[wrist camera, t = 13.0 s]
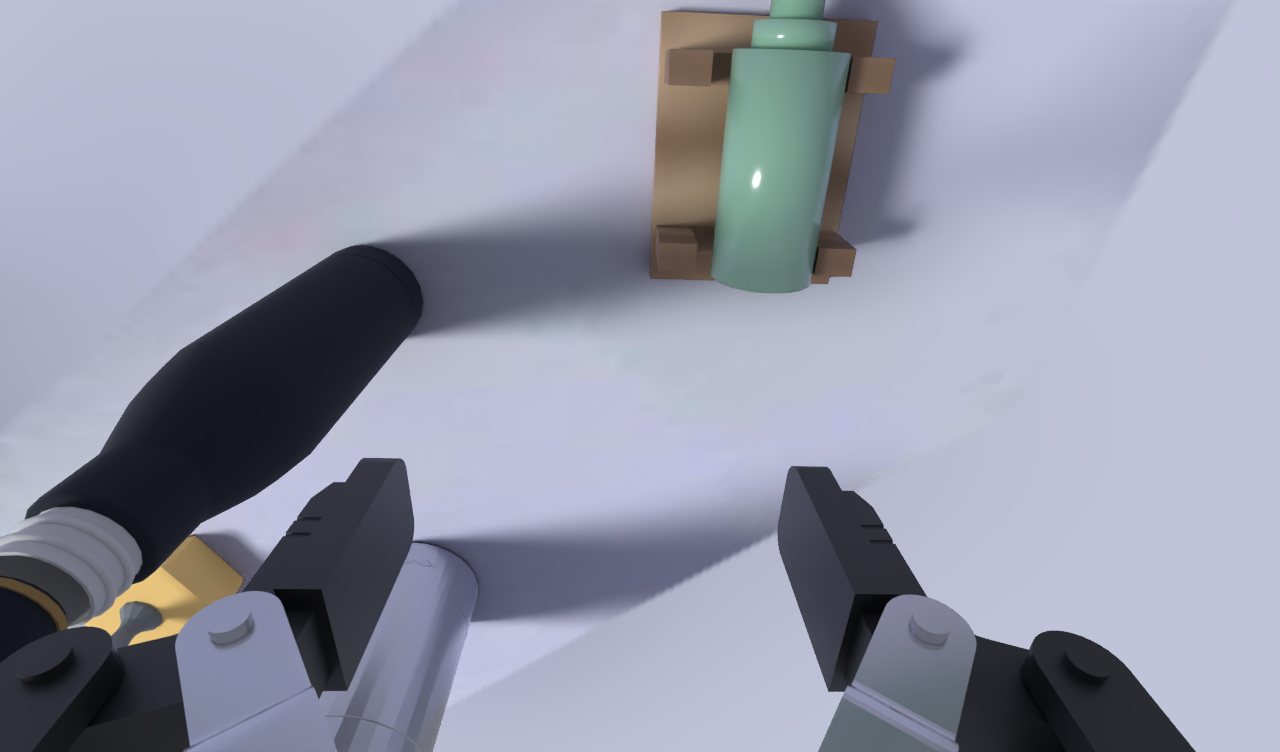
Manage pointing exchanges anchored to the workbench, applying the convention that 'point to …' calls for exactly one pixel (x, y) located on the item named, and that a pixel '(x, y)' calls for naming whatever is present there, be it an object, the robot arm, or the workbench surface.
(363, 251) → the wine bottle
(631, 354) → the workbench surface
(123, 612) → the rubber stamp
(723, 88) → the u rest
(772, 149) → the green bottle
